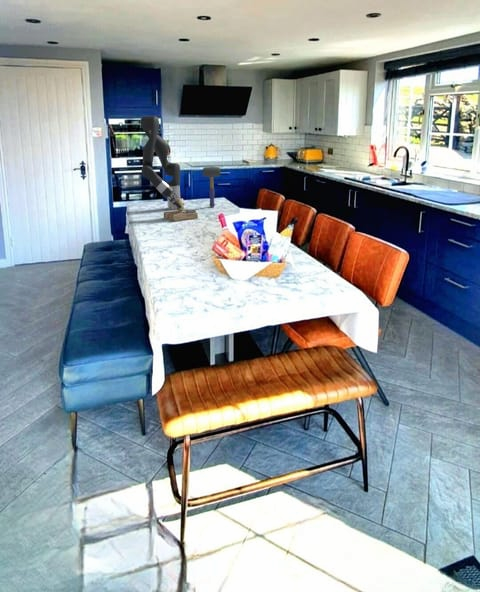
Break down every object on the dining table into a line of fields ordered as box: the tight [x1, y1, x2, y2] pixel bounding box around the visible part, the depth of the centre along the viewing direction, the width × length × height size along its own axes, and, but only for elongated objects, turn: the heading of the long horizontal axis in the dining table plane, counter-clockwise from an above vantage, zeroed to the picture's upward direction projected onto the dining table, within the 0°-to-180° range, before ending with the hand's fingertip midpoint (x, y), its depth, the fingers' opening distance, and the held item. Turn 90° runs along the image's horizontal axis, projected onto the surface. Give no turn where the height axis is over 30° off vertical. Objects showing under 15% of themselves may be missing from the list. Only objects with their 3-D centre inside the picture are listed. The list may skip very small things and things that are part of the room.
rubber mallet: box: [202, 166, 221, 208], centre depth 381 cm, size 12×8×30 cm, turn 101°
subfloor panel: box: [163, 208, 199, 223], centre depth 348 cm, size 15×18×4 cm
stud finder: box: [186, 208, 197, 213], centre depth 346 cm, size 3×6×2 cm, turn 127°
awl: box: [176, 197, 185, 213], centre depth 346 cm, size 5×5×12 cm
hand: (182, 206), depth 345 cm, fingers open, 8 cm apart
